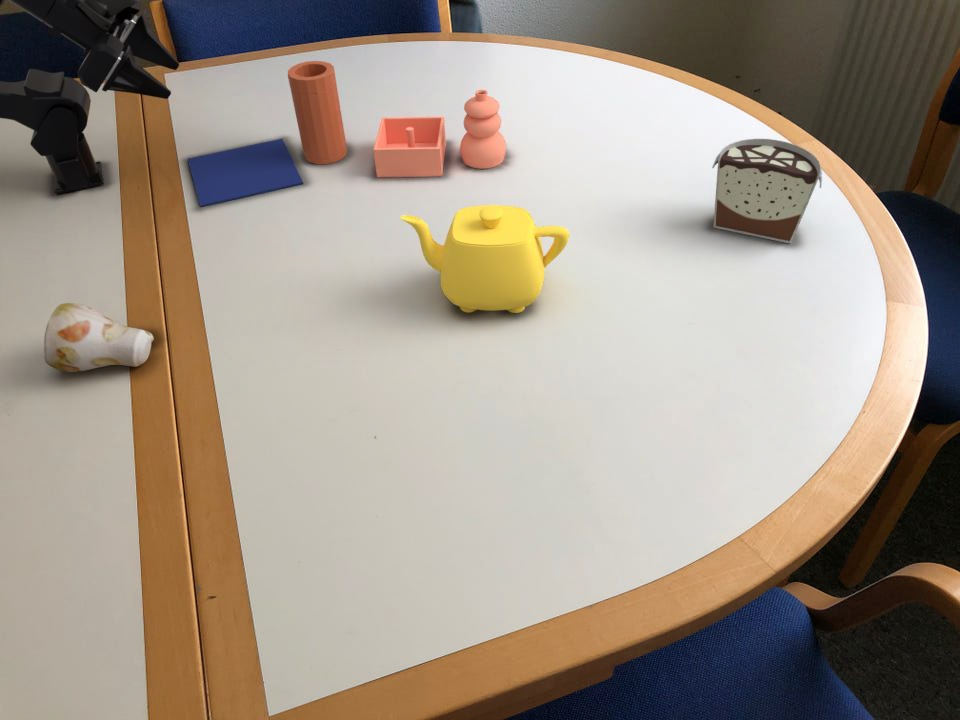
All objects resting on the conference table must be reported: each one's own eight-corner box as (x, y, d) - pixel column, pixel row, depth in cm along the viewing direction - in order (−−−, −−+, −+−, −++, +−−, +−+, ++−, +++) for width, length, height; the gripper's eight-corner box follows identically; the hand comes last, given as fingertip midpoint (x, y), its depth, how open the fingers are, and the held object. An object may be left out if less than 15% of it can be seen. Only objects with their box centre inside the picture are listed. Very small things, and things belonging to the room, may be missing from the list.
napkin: (187, 160, 116) (187, 158, 116) (282, 140, 119) (282, 138, 119) (200, 207, 106) (200, 205, 106) (303, 183, 110) (302, 182, 110)
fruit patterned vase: (155, 384, 82) (70, 334, 75) (94, 402, 86) (9, 357, 79) (174, 324, 86) (96, 272, 79) (115, 345, 90) (36, 297, 83)
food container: (811, 220, 99) (833, 147, 92) (803, 246, 95) (825, 172, 88) (712, 200, 103) (726, 129, 96) (701, 224, 99) (714, 152, 92)
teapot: (403, 322, 87) (392, 241, 80) (415, 262, 95) (406, 184, 88) (567, 324, 86) (571, 242, 79) (565, 264, 94) (569, 184, 87)
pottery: (377, 177, 110) (367, 110, 104) (385, 144, 117) (376, 79, 111) (506, 175, 110) (505, 108, 103) (506, 142, 117) (505, 77, 110)
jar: (297, 162, 114) (279, 77, 106) (315, 141, 119) (299, 59, 110) (337, 166, 113) (322, 81, 105) (353, 145, 117) (340, 62, 109)
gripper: (68, -27, 87) (198, 62, 96) (100, -73, 101) (212, 8, 109) (25, 51, 92) (152, 129, 101) (61, -3, 106) (170, 70, 114)
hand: (173, 80), depth 106 cm, fingers open, 9 cm apart
